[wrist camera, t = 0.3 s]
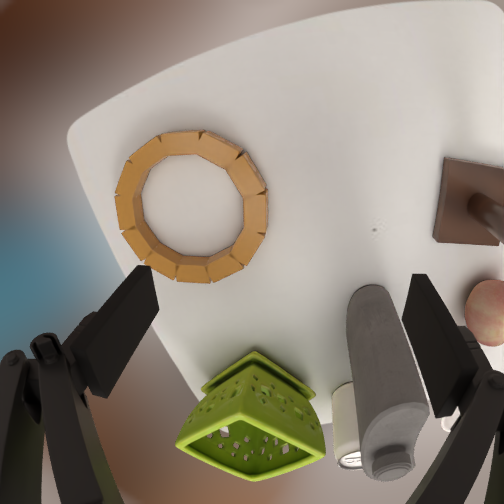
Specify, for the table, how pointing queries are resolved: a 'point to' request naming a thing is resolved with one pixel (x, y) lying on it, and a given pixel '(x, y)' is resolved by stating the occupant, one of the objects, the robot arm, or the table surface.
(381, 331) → the flask
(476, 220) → the peg stand
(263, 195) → the hoop
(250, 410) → the flower pot
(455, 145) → the table surface
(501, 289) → the apple
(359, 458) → the can
